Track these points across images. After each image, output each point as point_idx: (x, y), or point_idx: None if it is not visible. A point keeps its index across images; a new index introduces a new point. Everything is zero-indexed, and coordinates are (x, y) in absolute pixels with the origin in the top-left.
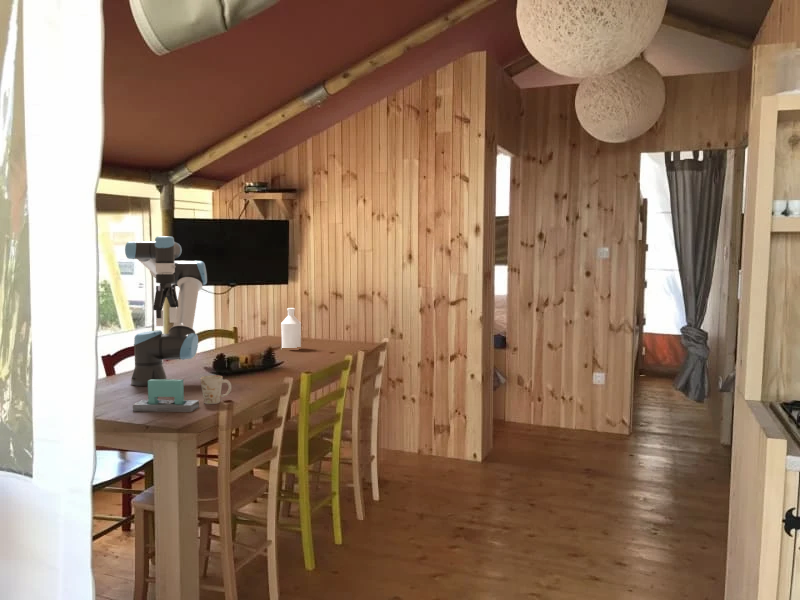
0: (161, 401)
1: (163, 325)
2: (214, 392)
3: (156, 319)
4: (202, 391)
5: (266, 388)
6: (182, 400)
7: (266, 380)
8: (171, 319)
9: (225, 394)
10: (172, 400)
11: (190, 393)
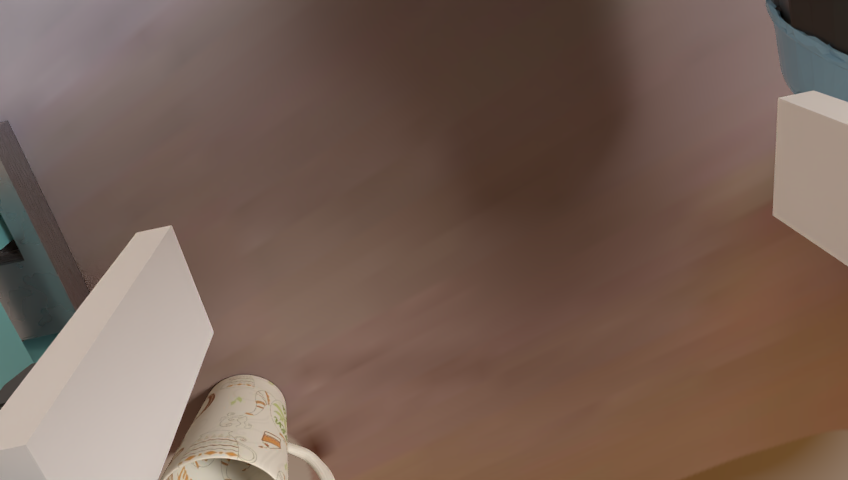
0: (10, 268)
1: (204, 340)
2: (206, 476)
3: (86, 306)
4: (194, 422)
5: (599, 475)
6: None
7: (794, 396)
8: (816, 155)
9: (303, 459)
10: (62, 308)
11: (404, 196)
